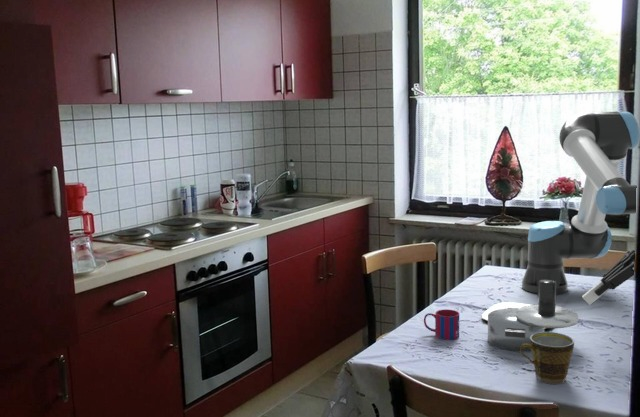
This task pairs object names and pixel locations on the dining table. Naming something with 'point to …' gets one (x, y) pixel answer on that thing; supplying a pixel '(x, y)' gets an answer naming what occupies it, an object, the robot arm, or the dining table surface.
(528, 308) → the lid
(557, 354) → the ceramic cup
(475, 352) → the dining table surface
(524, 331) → the pot
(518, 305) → the plate
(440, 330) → the cup
